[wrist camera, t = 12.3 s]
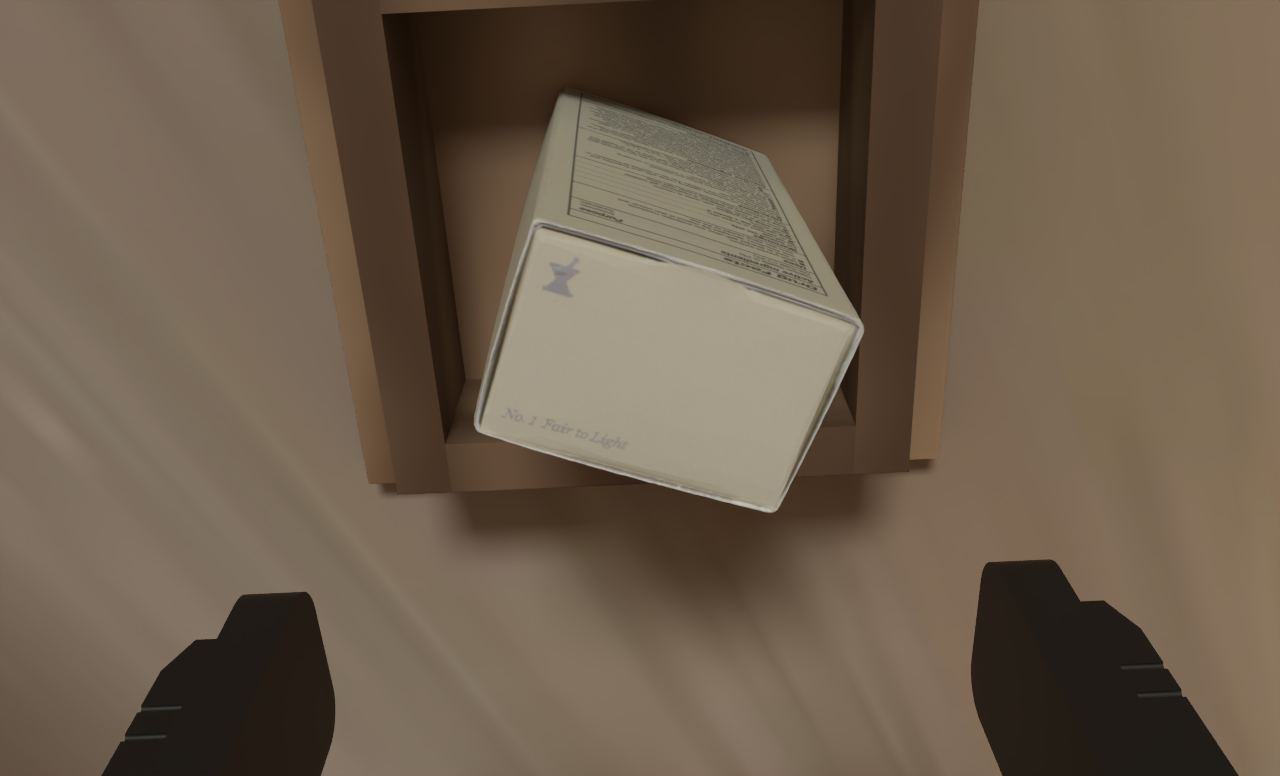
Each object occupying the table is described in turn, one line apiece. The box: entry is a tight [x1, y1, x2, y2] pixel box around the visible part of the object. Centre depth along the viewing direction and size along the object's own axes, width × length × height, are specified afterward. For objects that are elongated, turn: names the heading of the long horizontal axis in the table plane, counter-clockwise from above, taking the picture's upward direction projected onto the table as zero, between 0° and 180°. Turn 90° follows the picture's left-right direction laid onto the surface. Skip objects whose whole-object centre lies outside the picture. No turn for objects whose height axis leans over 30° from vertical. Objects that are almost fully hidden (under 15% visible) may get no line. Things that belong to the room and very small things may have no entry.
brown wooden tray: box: [278, 0, 979, 495], centre depth 28 cm, size 18×18×5 cm
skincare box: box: [474, 86, 864, 513], centre depth 24 cm, size 6×4×12 cm
